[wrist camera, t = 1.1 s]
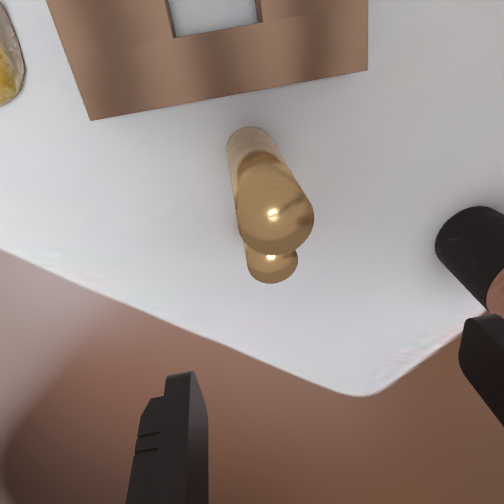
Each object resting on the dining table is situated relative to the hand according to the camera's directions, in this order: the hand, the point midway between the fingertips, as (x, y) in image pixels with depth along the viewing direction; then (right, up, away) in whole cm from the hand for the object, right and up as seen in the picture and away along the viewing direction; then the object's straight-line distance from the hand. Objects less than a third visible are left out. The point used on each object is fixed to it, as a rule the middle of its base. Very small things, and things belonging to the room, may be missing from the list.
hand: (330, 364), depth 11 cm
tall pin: (-2, +12, +20) cm, 24 cm away
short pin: (-1, +6, +24) cm, 25 cm away
